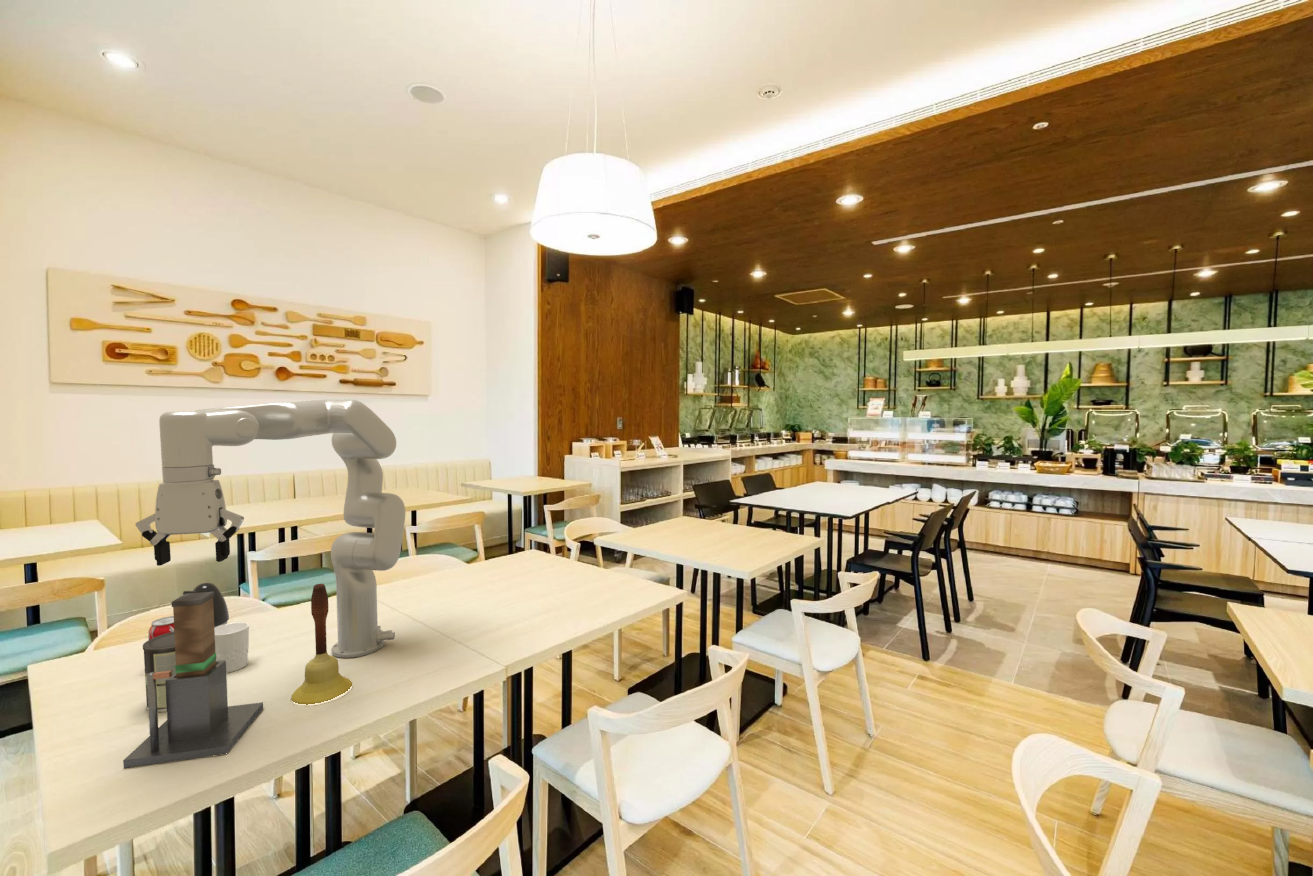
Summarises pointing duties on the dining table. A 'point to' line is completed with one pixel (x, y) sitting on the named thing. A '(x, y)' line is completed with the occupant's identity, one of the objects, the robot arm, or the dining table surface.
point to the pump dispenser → (214, 602)
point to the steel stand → (192, 719)
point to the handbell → (321, 660)
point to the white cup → (232, 645)
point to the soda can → (161, 627)
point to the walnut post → (194, 634)
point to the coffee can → (160, 664)
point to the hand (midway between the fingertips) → (193, 561)
